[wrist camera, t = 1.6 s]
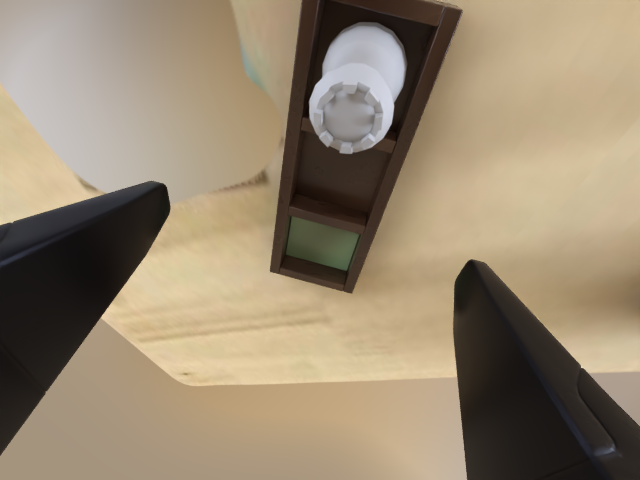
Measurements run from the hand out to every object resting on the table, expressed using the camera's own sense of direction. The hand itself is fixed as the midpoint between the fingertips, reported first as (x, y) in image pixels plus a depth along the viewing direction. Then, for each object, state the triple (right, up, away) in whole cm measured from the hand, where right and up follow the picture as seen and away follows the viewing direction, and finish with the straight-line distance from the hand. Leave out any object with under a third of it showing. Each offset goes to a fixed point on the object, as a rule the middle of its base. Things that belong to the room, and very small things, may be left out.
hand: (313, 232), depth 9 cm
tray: (+2, +5, +13) cm, 14 cm away
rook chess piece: (+3, +9, +8) cm, 13 cm away
